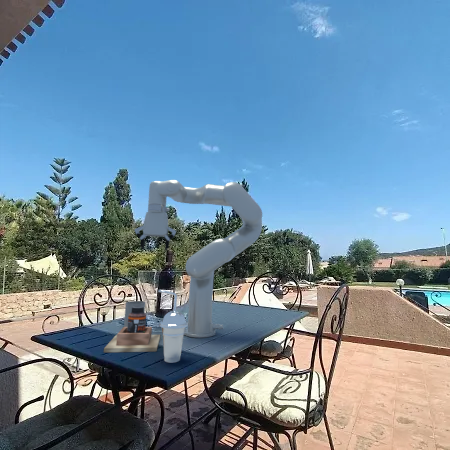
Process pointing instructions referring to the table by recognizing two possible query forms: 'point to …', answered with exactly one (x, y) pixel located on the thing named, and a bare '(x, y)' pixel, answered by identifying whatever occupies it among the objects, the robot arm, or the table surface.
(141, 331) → the supplement bottle
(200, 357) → the table surface
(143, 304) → the grey upright block
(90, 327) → the table surface
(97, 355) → the table surface
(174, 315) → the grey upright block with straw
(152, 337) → the bottle holder
